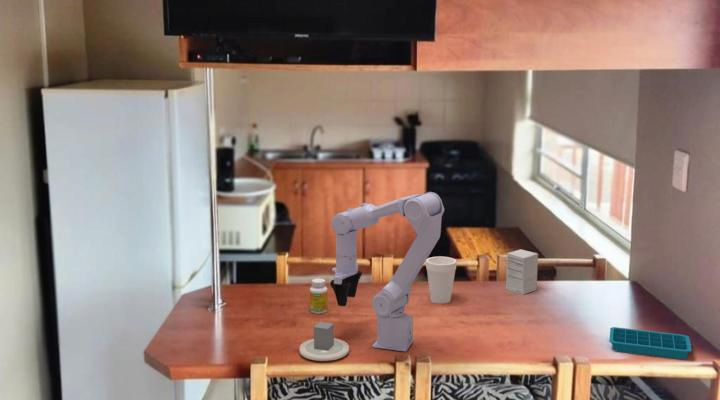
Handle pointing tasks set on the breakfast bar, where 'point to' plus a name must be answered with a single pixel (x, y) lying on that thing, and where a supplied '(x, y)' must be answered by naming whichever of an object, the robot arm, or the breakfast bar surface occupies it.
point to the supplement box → (521, 271)
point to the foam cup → (440, 278)
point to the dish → (333, 353)
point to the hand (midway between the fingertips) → (346, 301)
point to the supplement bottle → (318, 296)
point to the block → (323, 336)
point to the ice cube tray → (650, 343)
